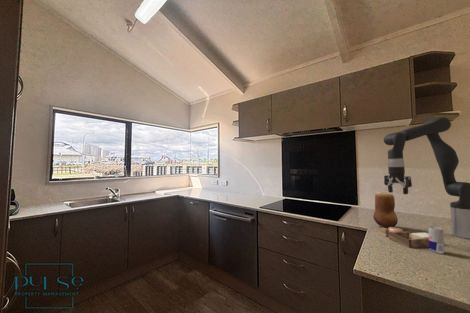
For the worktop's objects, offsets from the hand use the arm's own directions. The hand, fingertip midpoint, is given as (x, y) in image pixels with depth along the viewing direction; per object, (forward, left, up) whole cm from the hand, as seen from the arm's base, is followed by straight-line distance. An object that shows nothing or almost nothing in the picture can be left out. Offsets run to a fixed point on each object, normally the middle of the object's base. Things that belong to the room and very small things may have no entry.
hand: (397, 193), depth 116 cm
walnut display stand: (-1, +4, -27) cm, 28 cm away
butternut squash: (-11, -22, -28) cm, 37 cm away
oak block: (+2, -9, -28) cm, 29 cm away
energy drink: (-4, +16, -28) cm, 32 cm away
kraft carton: (-11, +4, -28) cm, 30 cm away
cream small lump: (-5, -8, -28) cm, 29 cm away
